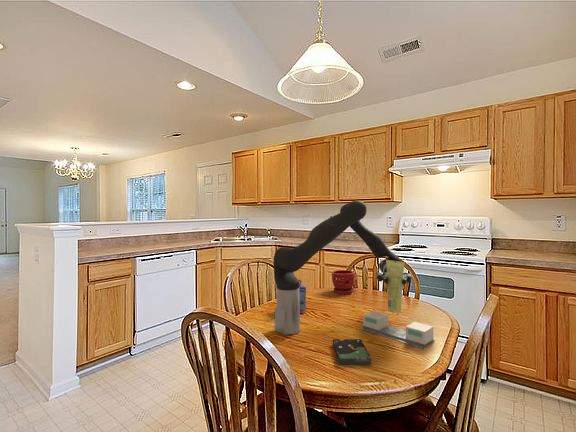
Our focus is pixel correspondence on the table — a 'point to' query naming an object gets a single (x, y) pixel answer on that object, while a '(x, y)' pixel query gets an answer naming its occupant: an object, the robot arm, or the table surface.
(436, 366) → the table surface
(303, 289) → the ink cartridge box
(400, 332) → the rail plate
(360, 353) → the disk drive
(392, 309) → the tube
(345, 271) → the plant pot
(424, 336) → the mounted blocks
